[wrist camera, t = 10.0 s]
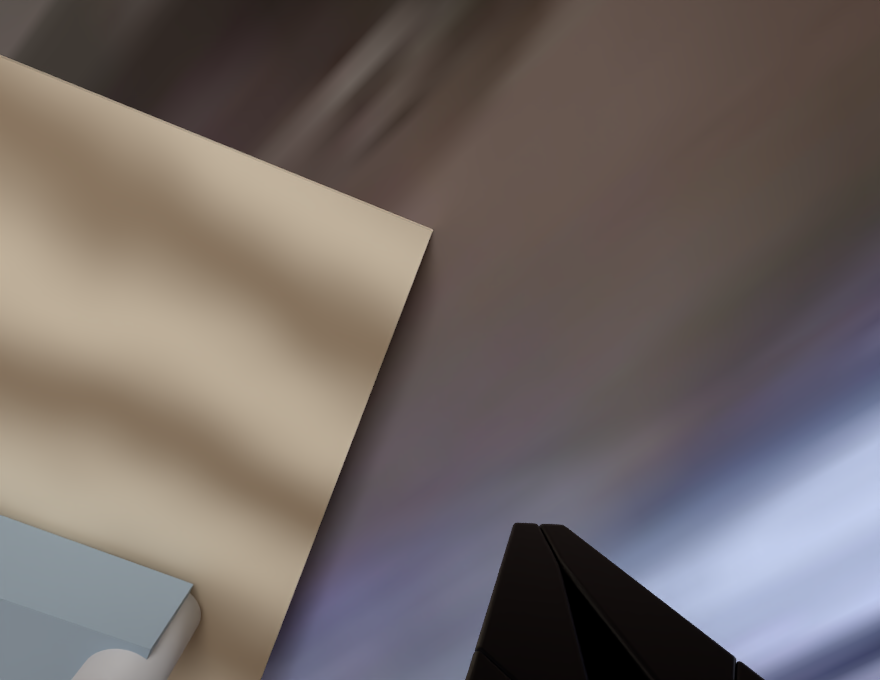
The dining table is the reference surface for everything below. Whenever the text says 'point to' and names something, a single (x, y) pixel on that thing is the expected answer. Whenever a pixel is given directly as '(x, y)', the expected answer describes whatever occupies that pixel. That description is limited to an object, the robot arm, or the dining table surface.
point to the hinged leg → (86, 611)
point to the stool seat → (182, 351)
